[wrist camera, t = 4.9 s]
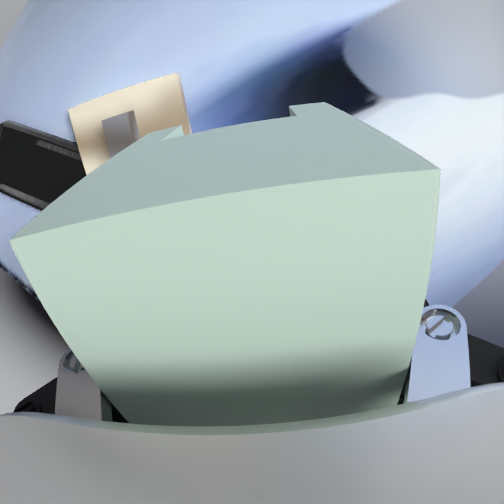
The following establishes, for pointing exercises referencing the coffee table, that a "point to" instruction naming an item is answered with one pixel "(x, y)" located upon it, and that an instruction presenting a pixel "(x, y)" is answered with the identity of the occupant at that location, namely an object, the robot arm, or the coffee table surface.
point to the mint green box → (242, 270)
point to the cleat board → (149, 112)
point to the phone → (37, 165)
